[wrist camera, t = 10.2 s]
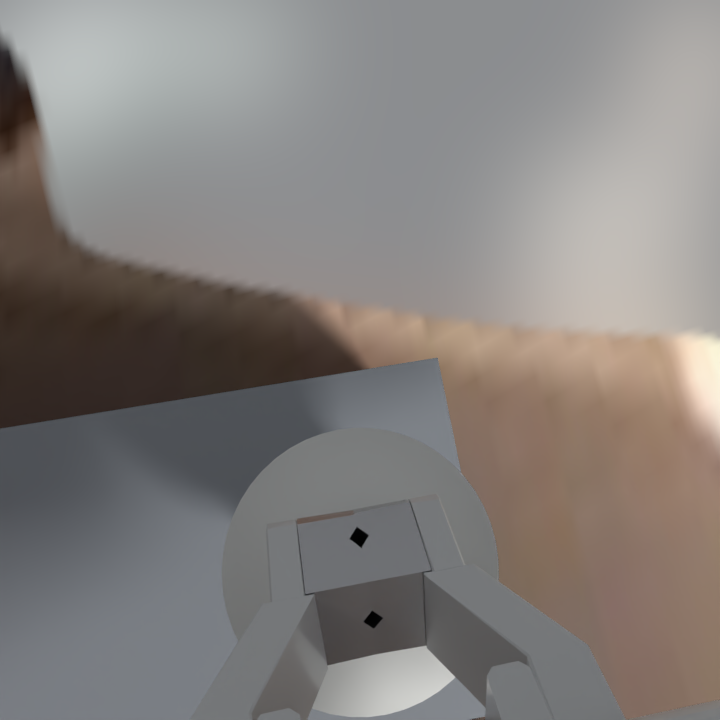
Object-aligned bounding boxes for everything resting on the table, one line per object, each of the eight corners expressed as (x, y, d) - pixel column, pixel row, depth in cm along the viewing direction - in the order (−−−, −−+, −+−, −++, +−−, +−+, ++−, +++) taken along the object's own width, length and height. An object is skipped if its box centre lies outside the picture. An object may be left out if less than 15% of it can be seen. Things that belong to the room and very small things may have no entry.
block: (-112, 754, 26) (-372, 898, 16) (-119, 494, 28) (-353, 485, 18) (445, 642, 28) (510, 710, 18) (400, 407, 30) (437, 358, 20)
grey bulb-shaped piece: (285, 620, 26) (242, 745, 12) (265, 482, 27) (204, 452, 13) (419, 594, 26) (526, 685, 12) (394, 460, 27) (467, 407, 13)
